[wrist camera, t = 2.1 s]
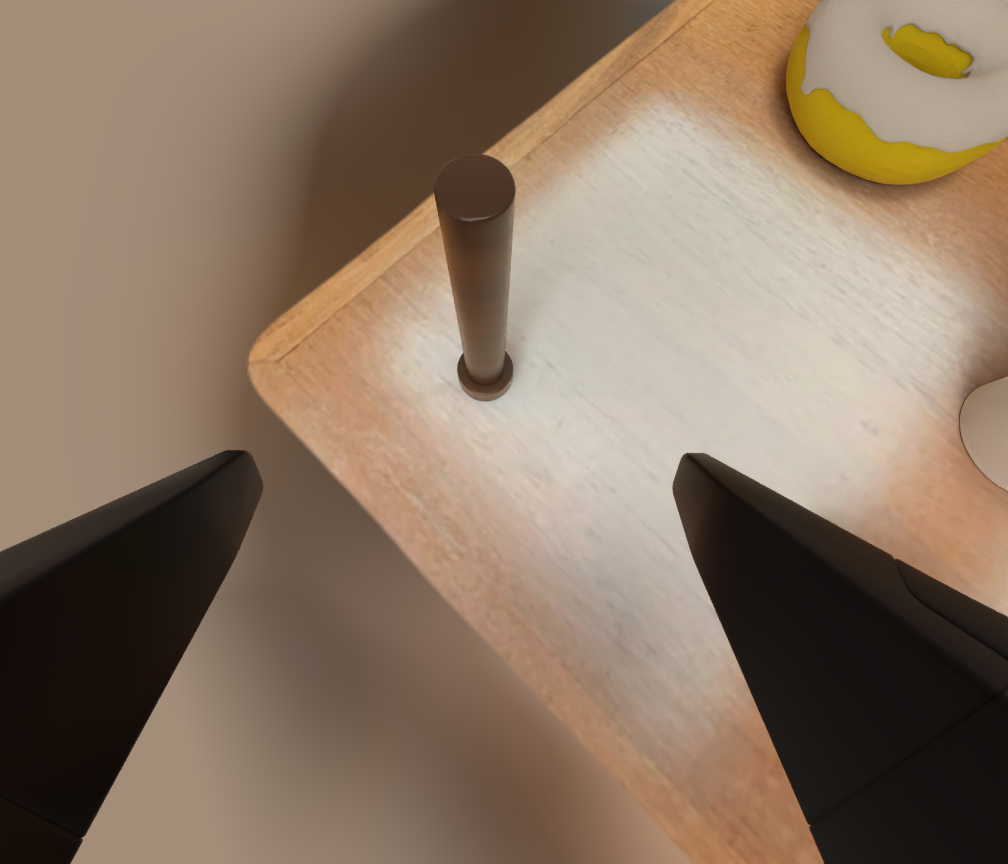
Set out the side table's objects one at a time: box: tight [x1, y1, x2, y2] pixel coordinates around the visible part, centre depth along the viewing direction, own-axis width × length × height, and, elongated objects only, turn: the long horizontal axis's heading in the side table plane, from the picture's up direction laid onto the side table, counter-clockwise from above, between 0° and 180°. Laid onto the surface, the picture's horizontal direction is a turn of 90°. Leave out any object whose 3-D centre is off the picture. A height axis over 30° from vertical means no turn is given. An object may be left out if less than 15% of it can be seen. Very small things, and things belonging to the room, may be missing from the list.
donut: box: [786, 0, 1008, 185], centre depth 25 cm, size 14×14×5 cm
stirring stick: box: [434, 154, 516, 401], centre depth 16 cm, size 3×3×13 cm
